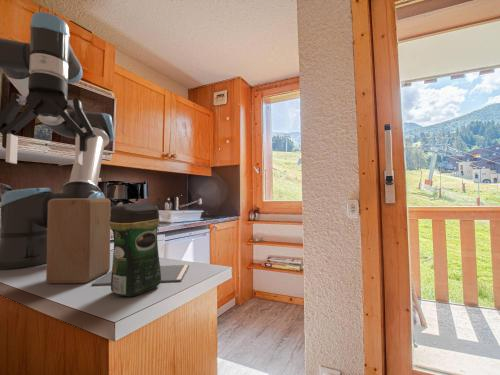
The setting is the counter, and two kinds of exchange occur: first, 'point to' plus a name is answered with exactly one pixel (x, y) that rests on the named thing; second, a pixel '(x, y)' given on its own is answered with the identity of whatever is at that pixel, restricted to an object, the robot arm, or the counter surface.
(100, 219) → the wooden block
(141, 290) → the coffee jar
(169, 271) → the gray book
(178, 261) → the counter surface
